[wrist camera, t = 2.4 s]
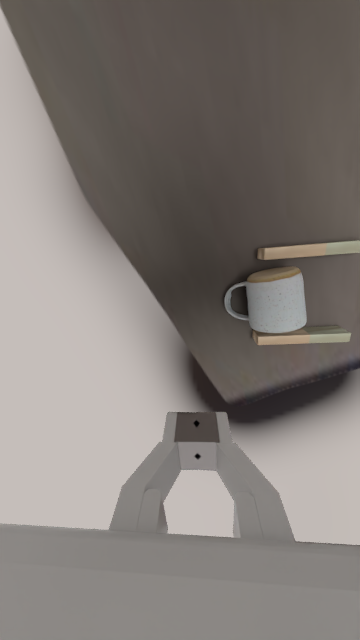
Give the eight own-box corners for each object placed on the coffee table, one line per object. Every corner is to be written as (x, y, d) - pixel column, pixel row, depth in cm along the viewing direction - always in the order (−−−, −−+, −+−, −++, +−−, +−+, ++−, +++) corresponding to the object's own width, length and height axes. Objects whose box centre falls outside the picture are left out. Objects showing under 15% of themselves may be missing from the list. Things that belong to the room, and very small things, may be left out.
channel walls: (257, 248, 28) (264, 248, 26) (357, 240, 27) (376, 239, 24) (252, 337, 34) (257, 345, 31) (335, 333, 32) (348, 341, 30)
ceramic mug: (287, 261, 29) (317, 266, 22) (291, 310, 32) (318, 329, 24) (219, 278, 31) (225, 288, 24) (227, 323, 33) (236, 344, 26)
